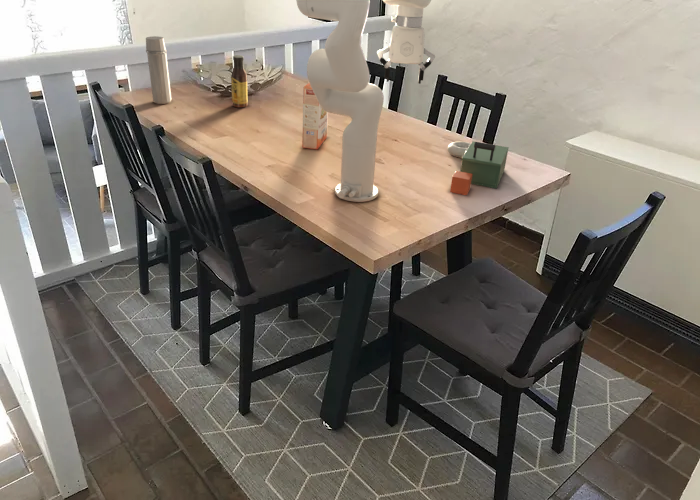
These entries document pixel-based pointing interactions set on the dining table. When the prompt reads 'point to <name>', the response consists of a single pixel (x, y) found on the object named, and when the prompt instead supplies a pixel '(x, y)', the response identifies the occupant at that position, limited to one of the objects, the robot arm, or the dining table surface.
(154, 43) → the water bottle
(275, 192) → the dining table surface
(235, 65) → the sauce bottle
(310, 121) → the cracker box
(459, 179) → the block
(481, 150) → the lid
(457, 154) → the donut
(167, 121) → the dining table surface
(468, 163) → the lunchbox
